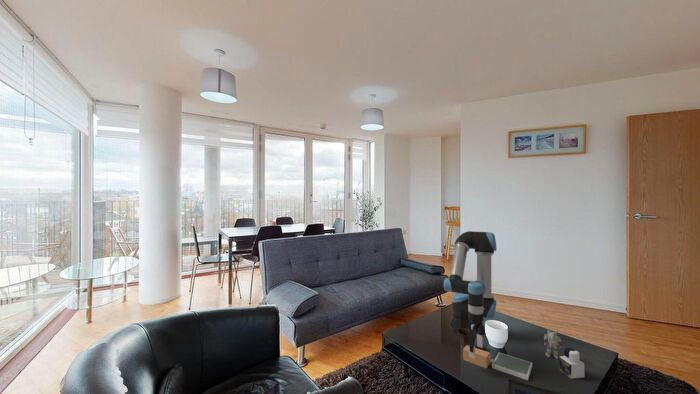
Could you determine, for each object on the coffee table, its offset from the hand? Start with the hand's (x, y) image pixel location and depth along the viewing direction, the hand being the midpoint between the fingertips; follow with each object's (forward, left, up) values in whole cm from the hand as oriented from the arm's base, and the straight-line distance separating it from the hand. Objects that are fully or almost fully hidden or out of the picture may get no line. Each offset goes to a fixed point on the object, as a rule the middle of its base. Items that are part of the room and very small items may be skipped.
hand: (476, 352), depth 155 cm
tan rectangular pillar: (0, 0, -6) cm, 6 cm away
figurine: (+31, +30, -6) cm, 44 cm away
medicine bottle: (+40, +18, -6) cm, 44 cm away
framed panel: (+16, +6, -5) cm, 18 cm away
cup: (-9, +11, -6) cm, 16 cm away
